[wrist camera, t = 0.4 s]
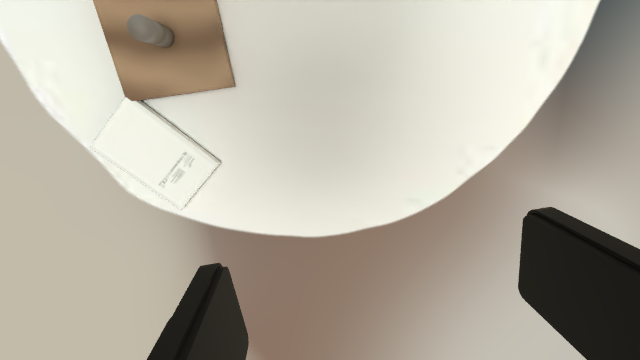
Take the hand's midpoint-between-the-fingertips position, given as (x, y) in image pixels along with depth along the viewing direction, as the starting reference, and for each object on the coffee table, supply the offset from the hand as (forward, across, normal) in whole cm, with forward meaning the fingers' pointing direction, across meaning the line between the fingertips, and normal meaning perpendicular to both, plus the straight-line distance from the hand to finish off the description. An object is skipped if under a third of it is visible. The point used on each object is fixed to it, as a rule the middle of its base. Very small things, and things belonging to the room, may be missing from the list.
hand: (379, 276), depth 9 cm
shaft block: (+30, +15, -13) cm, 36 cm away
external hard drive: (+30, +20, 0) cm, 36 cm away
